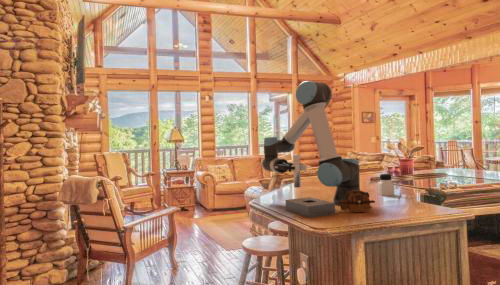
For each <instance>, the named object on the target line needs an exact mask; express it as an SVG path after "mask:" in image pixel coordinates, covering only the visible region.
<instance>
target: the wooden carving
mask: <svg viewBox="0 0 500 285" xmlns="http://www.w3.org/2000/svg"><path fill="white" fill-rule="evenodd" d="M346 198H347V200H341V201H339V202H338V204H340V205H339V206H340V209H341V211H351V212H354V213H364V212H366V211H369V210H371V209H372V208H373V206H372V205H371V204H374V203H375V202H376V201H375V200H373V199H372V200H370V193H369V192H367V191H366V192H365V191H363V190H361V191H359V190H354V191H351V192H347V193H346Z"/></svg>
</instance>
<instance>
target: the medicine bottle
mask: <svg viewBox="0 0 500 285" xmlns="http://www.w3.org/2000/svg"><path fill="white" fill-rule="evenodd" d="M377 194H378V195H380V196H382V197H385V196H387V197H388V196H392V197H393V196H395V183H394V182H393V181H392V175H391V174H390V173H381V174H380V175H379V181H378V182H377Z"/></svg>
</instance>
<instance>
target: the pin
mask: <svg viewBox="0 0 500 285" xmlns="http://www.w3.org/2000/svg"><path fill="white" fill-rule="evenodd" d="M300 156H301V154H292V163H293V165H298V166H300V163H301V162H300V161H301V160H300V158H301V157H300ZM301 185H302V184H301V170H300V171H293V187H294V188H301V187H302V186H301Z"/></svg>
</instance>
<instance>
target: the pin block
mask: <svg viewBox="0 0 500 285" xmlns="http://www.w3.org/2000/svg"><path fill="white" fill-rule="evenodd" d="M285 211H287V212H290V213H293V214H296V215H300V216H303V217H305V218H308V219H310V218H317V217H323V216H333V215H335V214H336V204H335V203H334V202H333V201H328V200H324V199H321V198H320V199H318V198H315V197H312V196H309V197H301V198H300V197H298V198H290V199H285Z"/></svg>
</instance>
